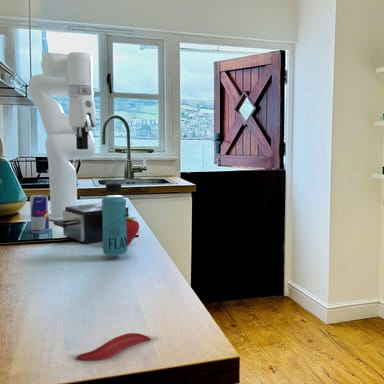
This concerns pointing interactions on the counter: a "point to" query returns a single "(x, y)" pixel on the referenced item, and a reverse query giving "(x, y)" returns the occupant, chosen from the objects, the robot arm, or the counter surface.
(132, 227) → the strawberry
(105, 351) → the cayenne pepper
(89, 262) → the counter surface
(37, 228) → the energy drink
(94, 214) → the cabinet
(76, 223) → the drawer
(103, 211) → the beverage bottle
